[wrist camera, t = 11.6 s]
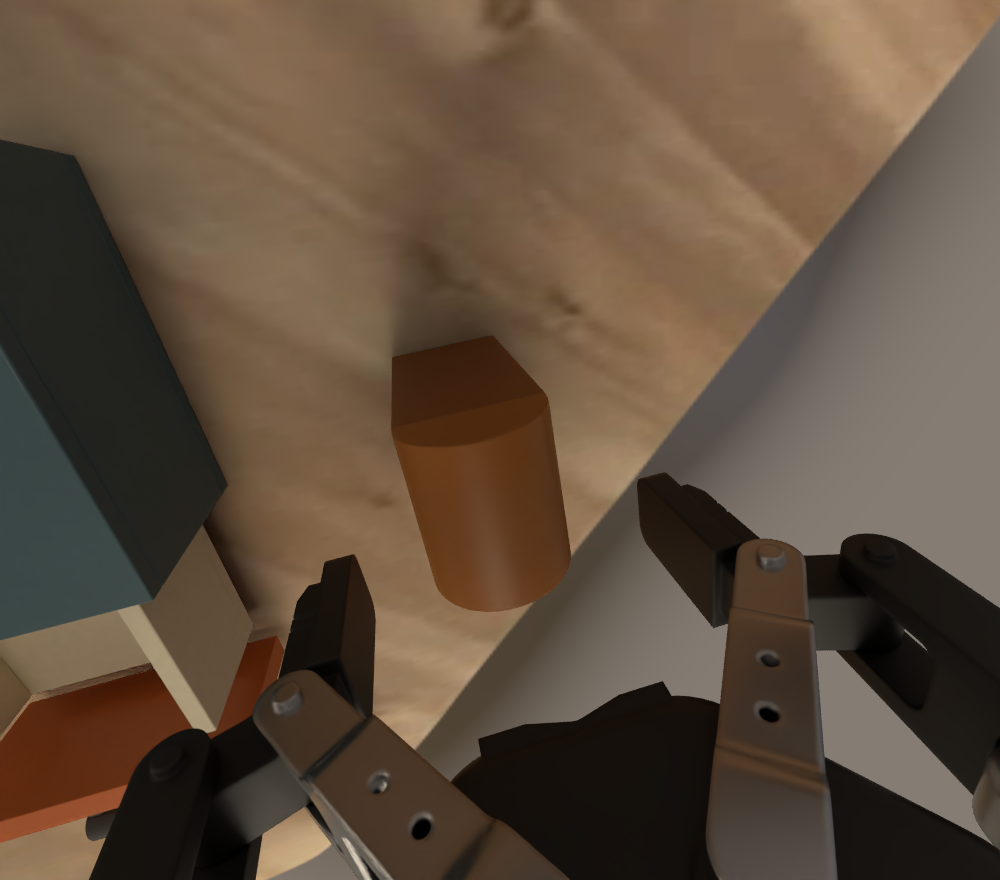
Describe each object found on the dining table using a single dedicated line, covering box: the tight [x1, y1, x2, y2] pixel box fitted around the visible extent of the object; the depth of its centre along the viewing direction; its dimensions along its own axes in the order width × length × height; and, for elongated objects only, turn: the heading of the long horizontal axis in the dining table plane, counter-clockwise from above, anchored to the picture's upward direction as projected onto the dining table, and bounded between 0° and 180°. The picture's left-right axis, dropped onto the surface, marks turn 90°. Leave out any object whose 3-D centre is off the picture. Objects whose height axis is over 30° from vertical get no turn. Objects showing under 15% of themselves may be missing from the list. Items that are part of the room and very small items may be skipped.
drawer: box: [0, 525, 284, 843], centre depth 23 cm, size 18×13×7 cm
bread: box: [391, 336, 571, 612], centre depth 20 cm, size 6×5×12 cm
